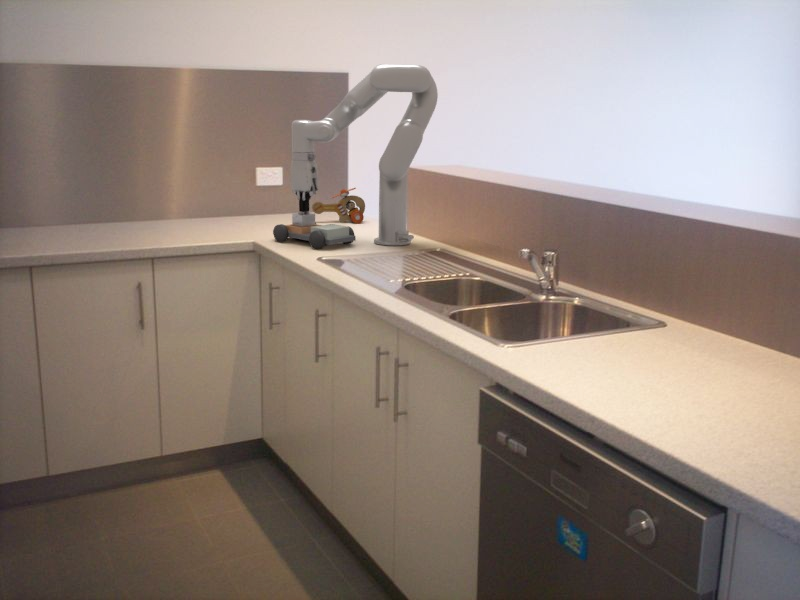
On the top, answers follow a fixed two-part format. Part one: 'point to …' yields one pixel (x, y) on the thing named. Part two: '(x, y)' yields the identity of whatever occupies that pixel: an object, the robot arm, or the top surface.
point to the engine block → (303, 219)
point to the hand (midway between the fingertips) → (304, 211)
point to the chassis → (316, 234)
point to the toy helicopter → (343, 207)
